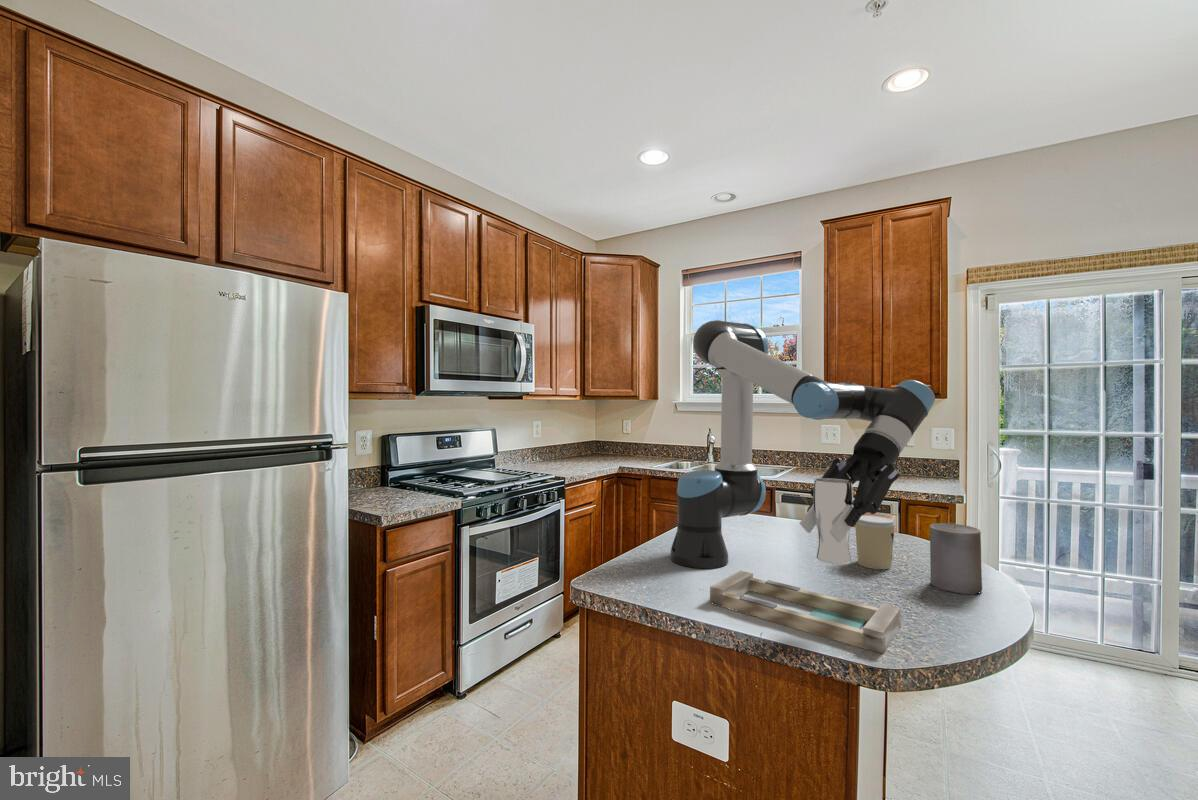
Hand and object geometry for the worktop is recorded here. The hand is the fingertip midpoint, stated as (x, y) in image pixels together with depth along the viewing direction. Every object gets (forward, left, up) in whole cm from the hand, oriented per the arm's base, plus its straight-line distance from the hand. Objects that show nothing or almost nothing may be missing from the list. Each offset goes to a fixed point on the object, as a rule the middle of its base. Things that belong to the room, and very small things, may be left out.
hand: (819, 532), depth 94 cm
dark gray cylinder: (+16, +43, -18) cm, 50 cm away
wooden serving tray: (-5, +3, -18) cm, 18 cm away
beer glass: (+2, +3, -6) cm, 7 cm away
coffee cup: (-2, +49, -18) cm, 52 cm away
